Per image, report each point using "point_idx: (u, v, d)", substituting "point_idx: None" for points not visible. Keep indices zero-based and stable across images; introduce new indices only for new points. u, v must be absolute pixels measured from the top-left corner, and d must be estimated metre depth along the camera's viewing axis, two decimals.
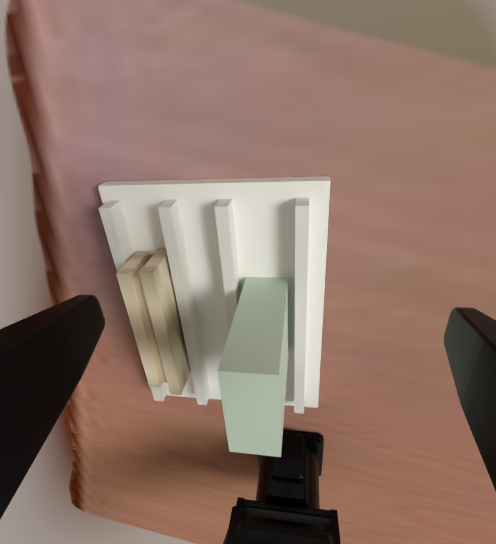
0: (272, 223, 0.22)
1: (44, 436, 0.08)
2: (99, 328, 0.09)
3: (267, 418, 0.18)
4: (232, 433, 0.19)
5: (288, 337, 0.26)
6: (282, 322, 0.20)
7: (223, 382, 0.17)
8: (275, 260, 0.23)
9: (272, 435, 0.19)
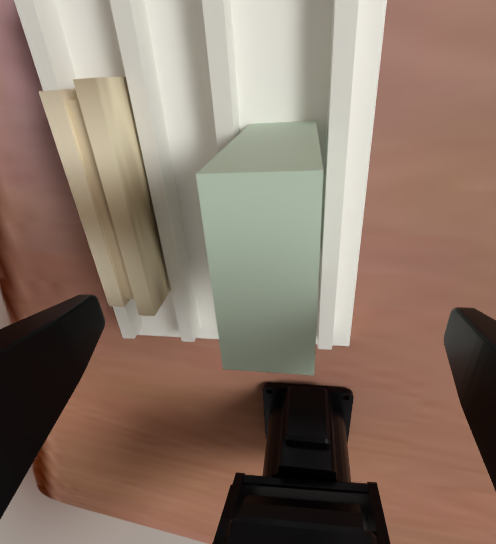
0: (293, 11, 0.14)
1: (44, 436, 0.08)
2: (99, 328, 0.09)
3: (294, 289, 0.09)
4: (228, 329, 0.11)
5: None
6: (316, 139, 0.11)
7: (208, 204, 0.09)
8: (296, 87, 0.15)
9: (301, 329, 0.10)
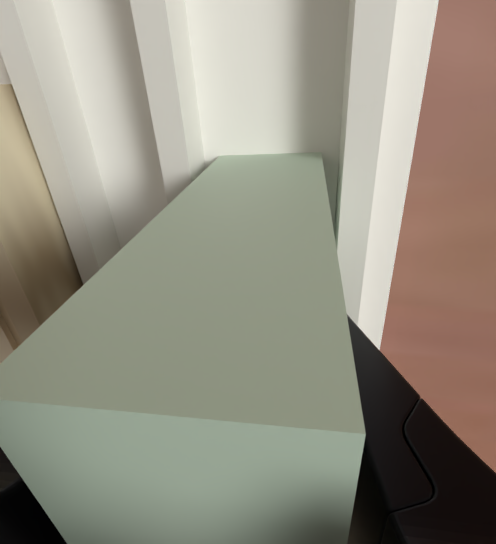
0: None
1: None
2: None
3: None
4: None
5: None
6: (325, 213, 0.06)
7: (29, 458, 0.03)
8: (290, 101, 0.09)
9: None
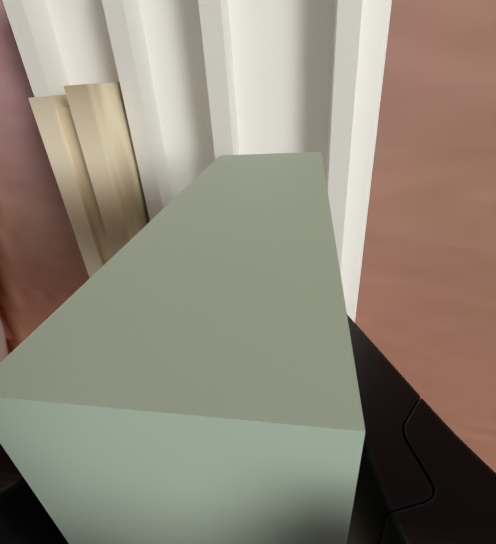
0: (293, 15, 0.13)
1: None
2: None
3: None
4: None
5: None
6: (325, 212, 0.06)
7: (29, 456, 0.03)
8: (297, 94, 0.14)
9: None
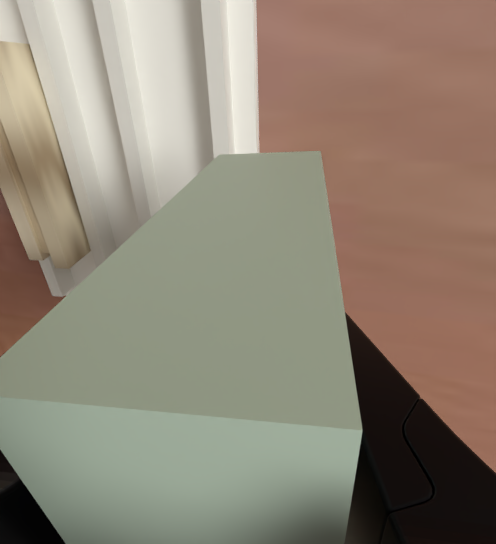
0: None
1: None
2: None
3: None
4: None
5: None
6: (324, 211, 0.06)
7: (25, 456, 0.03)
8: (186, 59, 0.17)
9: None
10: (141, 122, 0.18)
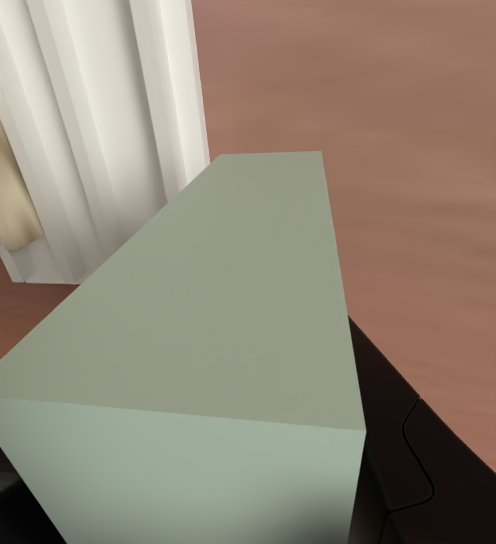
0: None
1: None
2: None
3: None
4: None
5: None
6: (325, 211, 0.06)
7: (27, 456, 0.03)
8: (121, 30, 0.16)
9: None
10: (82, 98, 0.18)
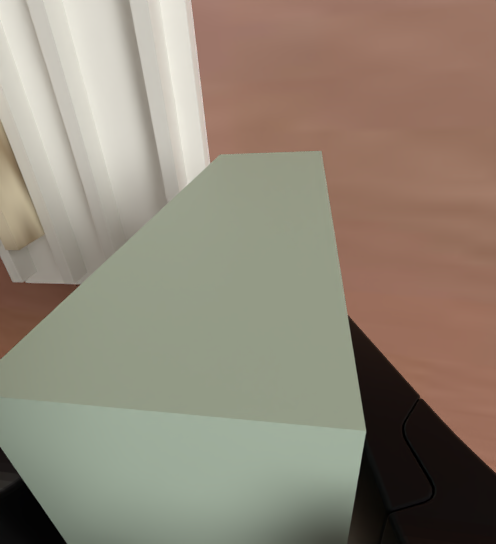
0: None
1: None
2: None
3: None
4: None
5: None
6: (325, 211, 0.06)
7: (27, 456, 0.03)
8: (121, 30, 0.16)
9: None
10: (82, 98, 0.18)
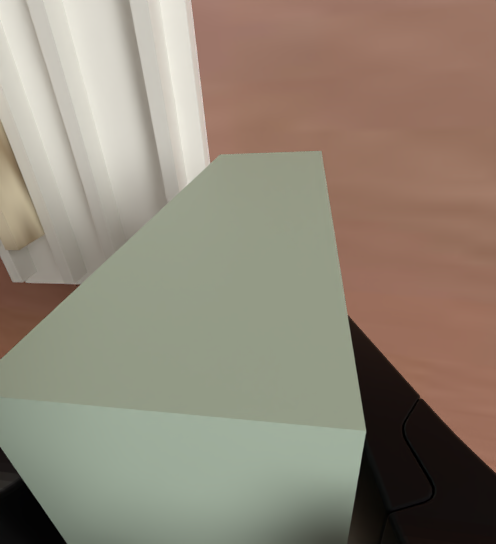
0: None
1: None
2: None
3: None
4: None
5: None
6: (325, 211, 0.06)
7: (27, 456, 0.03)
8: (121, 30, 0.16)
9: None
10: (82, 98, 0.18)
